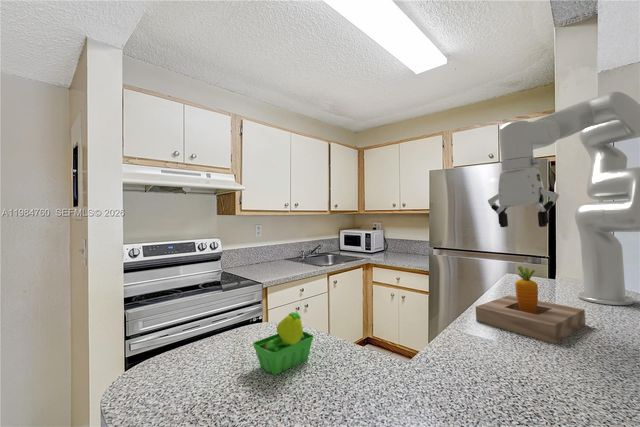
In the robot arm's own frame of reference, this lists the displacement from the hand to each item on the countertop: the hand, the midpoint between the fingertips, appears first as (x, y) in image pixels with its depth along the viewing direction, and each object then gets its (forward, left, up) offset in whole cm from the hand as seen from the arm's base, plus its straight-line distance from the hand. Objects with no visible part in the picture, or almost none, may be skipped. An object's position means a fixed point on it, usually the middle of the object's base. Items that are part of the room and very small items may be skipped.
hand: (522, 226), depth 81 cm
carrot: (+4, +2, -26) cm, 26 cm away
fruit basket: (+66, -17, -26) cm, 73 cm away
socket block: (+4, +2, -26) cm, 26 cm away
